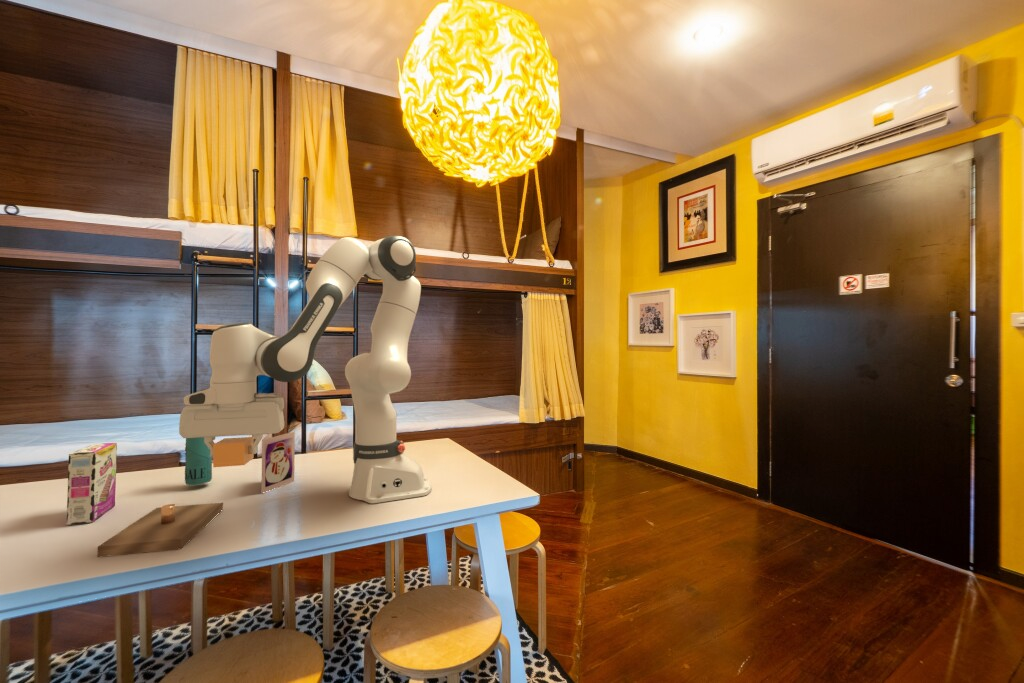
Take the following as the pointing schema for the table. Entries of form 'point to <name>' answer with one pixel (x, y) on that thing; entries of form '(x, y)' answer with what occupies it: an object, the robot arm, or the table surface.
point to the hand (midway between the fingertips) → (234, 454)
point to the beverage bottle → (197, 462)
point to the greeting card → (277, 460)
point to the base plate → (160, 530)
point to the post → (168, 514)
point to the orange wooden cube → (232, 452)
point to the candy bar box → (91, 483)
